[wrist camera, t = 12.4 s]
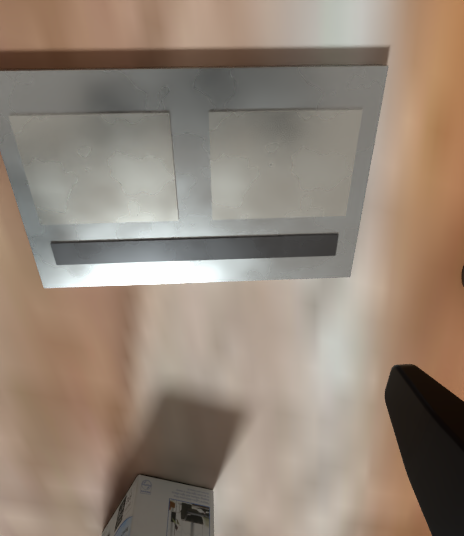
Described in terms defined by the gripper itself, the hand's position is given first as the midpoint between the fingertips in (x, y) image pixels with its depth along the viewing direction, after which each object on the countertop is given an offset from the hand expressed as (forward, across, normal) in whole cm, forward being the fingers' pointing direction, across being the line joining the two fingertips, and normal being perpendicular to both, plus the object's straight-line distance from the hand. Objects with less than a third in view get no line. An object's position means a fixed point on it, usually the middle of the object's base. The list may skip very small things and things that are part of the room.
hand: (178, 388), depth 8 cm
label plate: (+12, 0, 0) cm, 12 cm away
